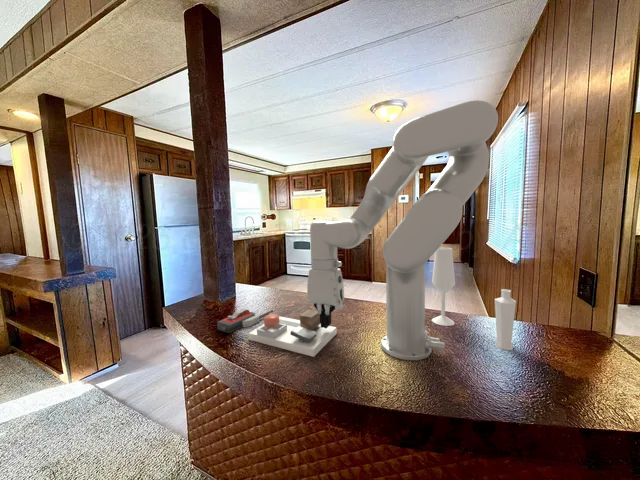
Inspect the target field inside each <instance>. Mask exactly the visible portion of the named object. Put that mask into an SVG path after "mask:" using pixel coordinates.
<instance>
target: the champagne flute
mask: <svg viewBox="0 0 640 480" xmlns="http://www.w3.org/2000/svg"><path fill="white" fill-rule="evenodd" d="M433 257H434V259H433V269H432V277H431V278H432V279H431V284H432V285H433V286H434V288H435V289H437V290H438V291H439V292H441V293H440V294H441V296H440V298H441V299H440V303H441V305H440V315H438V316H435V317H434V318H432V319H431V322H432V323H434V324H436V325H439V326H445V327H446V326H447V327H449V326H454V325H455V321H454V320H453V319H451V318H449V317H447V316H446V293H448V292H449V291H451V290H452V289H453V288H454V287H455V285H456V277H455V267H454V255H453V248H452V247H443V246H442V247H441V246H440V247H439V248H438V249H437V251H436V252H435V253H434V256H433Z"/></svg>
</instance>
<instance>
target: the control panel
mask: <svg viewBox="0 0 640 480" xmlns="http://www.w3.org/2000/svg"><path fill="white" fill-rule="evenodd" d="M297 326H300V319H295V318H290V317H284V316H280V315H279V324H278V325H276V326H273V327H267V326H265V325H264V324H262V325H260V326H258V327H257V328H255V329H253V330H252V331H249V333H248V340H249V341H253V342H257V343H260V344H265V345H267V346H272V347H275V348H279V349H283V350H286V351H290V352H293V353H298V354H302V355H306V356H309V357H316V355H317V354H318V353H319V352H321V350H322V349H323V348H324V347H326V345H327V344H328V343H330V341H332V339H333V338H334V337H335V336H336V335H337V331H338V330H337V327H336V326H333V325H332V326H331V325H330V326H328V327H327V328H324V327H323V328H321V323H320V325H319V326H317V327H316V328H315V329H314V330H313V331H314V332H316V333H317V336H316V337H315V338H314V339H313V340H312V341H311V342H306V341H304V340H302V339H299V338H297V337H295V336H292V335H290V334H291V331H292V330H293V329H295V328H296V327H297Z"/></svg>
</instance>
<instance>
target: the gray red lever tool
mask: <svg viewBox="0 0 640 480" xmlns="http://www.w3.org/2000/svg"><path fill="white" fill-rule="evenodd" d="M273 312H274V310H273V309H271V310H269V311H267V312H264V313H263V314H260V315H256V313H255V312H253V311H249V309H245V308H242V309H239V310H236V311H234V313H233V314H232V315H227V317H226V318H223V319H221V320H219V321H217V322H216V327H217V330H218V331H221V332H223V333H227V334H229V333H233V332H234V331H237V330H239V329H241V328H247V327H251V326H253V325H255V324H257V323H260V320H261V319H264V317H265V316H266V315H269V314H271V313H272V314H273Z"/></svg>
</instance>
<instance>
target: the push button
mask: <svg viewBox="0 0 640 480" xmlns="http://www.w3.org/2000/svg"><path fill="white" fill-rule="evenodd" d="M279 316H280V315H279V314H277V313H276V314H275V313H272V314H271V313H270V314H269V315H266V316H265V317H263V325H265V326H267V327H273V326H276V325H278V324H279Z"/></svg>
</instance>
